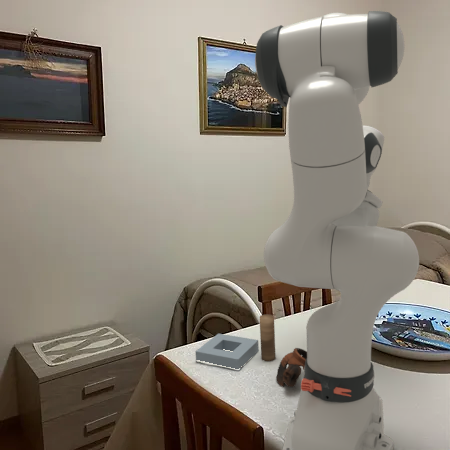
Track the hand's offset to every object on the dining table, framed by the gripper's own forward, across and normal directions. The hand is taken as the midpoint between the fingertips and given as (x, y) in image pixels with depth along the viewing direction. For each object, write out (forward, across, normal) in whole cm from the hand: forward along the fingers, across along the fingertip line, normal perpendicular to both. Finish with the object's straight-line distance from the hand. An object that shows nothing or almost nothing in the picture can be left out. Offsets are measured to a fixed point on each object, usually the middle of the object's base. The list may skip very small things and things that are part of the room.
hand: (326, 242), depth 113 cm
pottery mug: (+33, +9, -4) cm, 34 cm away
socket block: (+36, -12, -5) cm, 39 cm away
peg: (+32, -4, +1) cm, 33 cm away
